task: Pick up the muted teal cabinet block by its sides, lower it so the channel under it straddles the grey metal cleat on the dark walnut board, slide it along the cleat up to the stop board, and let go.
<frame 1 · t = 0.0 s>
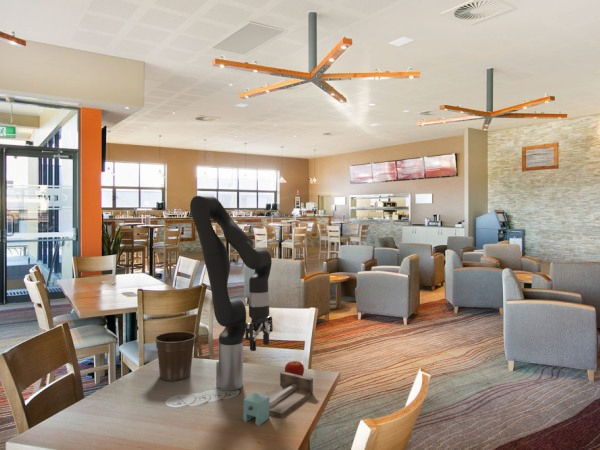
hand: (259, 347, 163), 17 cm above the table, tool pointing down, fingers open, 8 cm apart
cabinet block: (256, 419, 143), on the table
apple: (294, 380, 177), on the table
cleat board: (282, 401, 157), on the table
plant pot: (175, 376, 180), on the table
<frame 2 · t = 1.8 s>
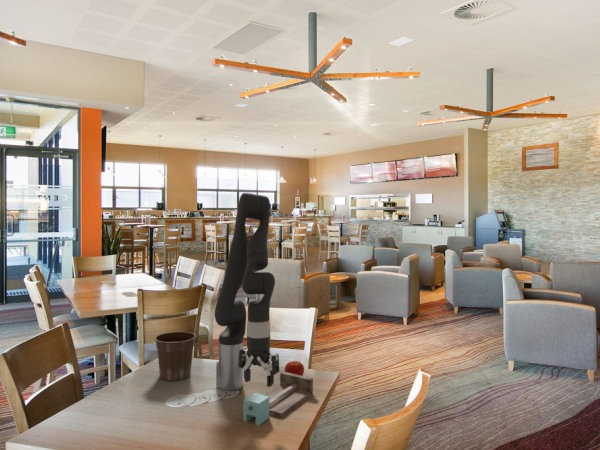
hand: (258, 383, 143), 12 cm above the table, tool pointing down, fingers open, 8 cm apart
nothing on the table moved.
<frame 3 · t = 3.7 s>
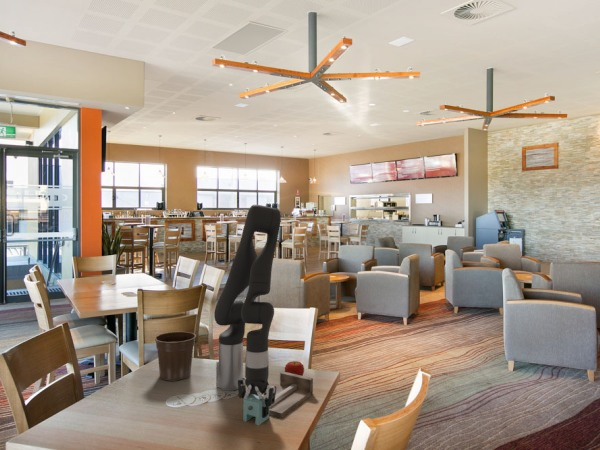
hand: (256, 414, 143), 2 cm above the table, tool pointing down, fingers closed on cabinet block, 6 cm apart
cabinet block: (256, 419, 143), on the table, touching gripper
everything else where it was.
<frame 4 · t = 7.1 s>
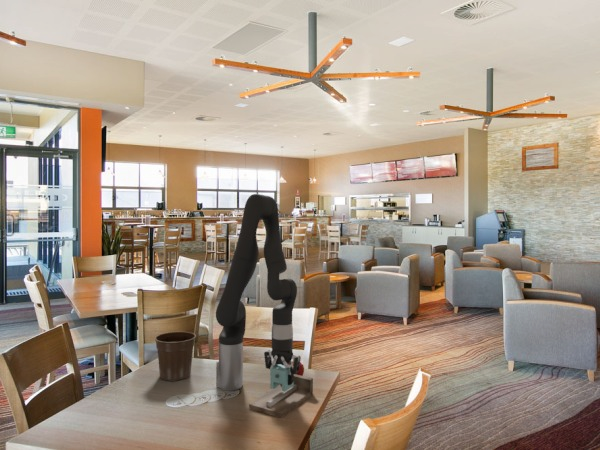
hand: (282, 382, 156), 7 cm above the table, tool pointing down, fingers closed on cabinet block, 6 cm apart
cabinet block: (282, 387, 157), point 5 cm above the table, touching gripper
everything else where it was.
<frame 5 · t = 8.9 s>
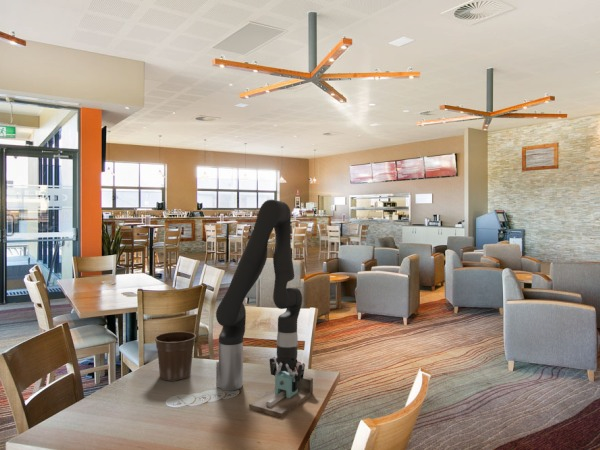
hand: (286, 389, 160), 3 cm above the table, tool pointing down, fingers closed on cabinet block, 6 cm apart
cabinet block: (286, 393, 160), point 2 cm above the table, touching gripper
everything else where it was.
when the fingers open (3 cm above the table, at t = 10.6 s): cabinet block stays where it is, resting on cleat board.
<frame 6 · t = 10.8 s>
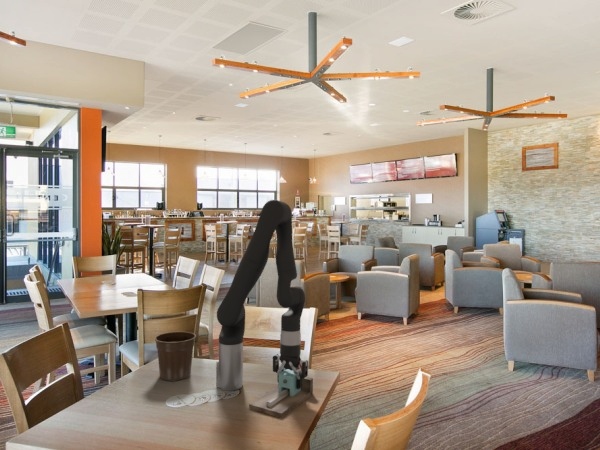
hand: (289, 386, 162), 4 cm above the table, tool pointing down, fingers open, 7 cm apart
cabinet block: (289, 391, 162), point 1 cm above the table, touching cleat board
everything else where it was.
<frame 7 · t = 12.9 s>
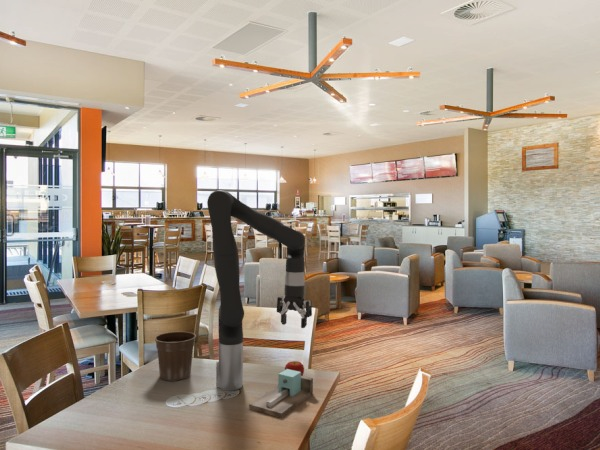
hand: (293, 326, 167), 24 cm above the table, tool pointing down, fingers open, 8 cm apart
nothing on the table moved.
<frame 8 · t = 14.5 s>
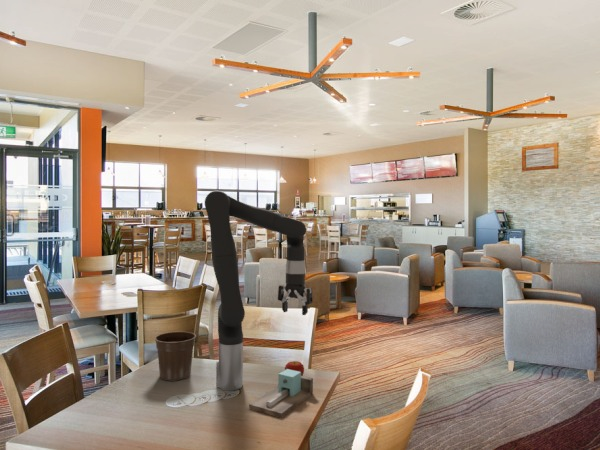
hand: (294, 313, 172), 28 cm above the table, tool pointing down, fingers open, 8 cm apart
nothing on the table moved.
at the end: cabinet block 0.5 cm from the target spot on the cleat board, point 1.5 cm above the cleat board's base; cabinet block tilted 0°; the gripper is holding nothing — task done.
